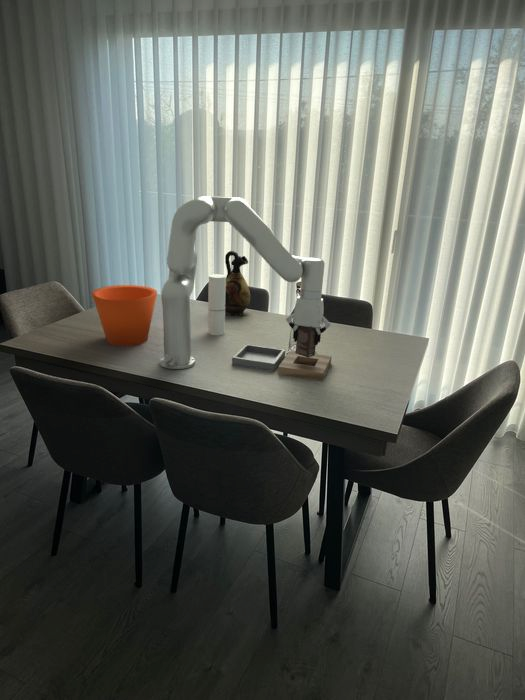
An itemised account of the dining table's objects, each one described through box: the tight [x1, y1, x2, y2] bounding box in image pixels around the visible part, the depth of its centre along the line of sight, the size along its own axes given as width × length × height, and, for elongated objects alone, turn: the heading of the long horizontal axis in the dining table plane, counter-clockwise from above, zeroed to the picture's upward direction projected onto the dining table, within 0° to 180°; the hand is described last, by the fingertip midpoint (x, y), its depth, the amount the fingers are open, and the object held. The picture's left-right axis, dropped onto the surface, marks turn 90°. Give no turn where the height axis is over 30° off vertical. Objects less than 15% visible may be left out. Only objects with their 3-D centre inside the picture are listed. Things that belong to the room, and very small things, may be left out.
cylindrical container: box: [207, 273, 227, 336], centre depth 218 cm, size 7×7×25 cm
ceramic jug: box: [224, 250, 251, 316], centre depth 249 cm, size 17×15×30 cm
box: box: [295, 326, 317, 358], centre depth 184 cm, size 6×4×12 cm
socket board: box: [277, 349, 332, 382], centre depth 187 cm, size 18×16×3 cm
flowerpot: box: [91, 284, 158, 347], centre depth 206 cm, size 25×25×20 cm
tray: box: [231, 343, 286, 372], centre depth 193 cm, size 16×16×3 cm
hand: (306, 341), depth 184 cm, fingers closed on box, 7 cm apart
